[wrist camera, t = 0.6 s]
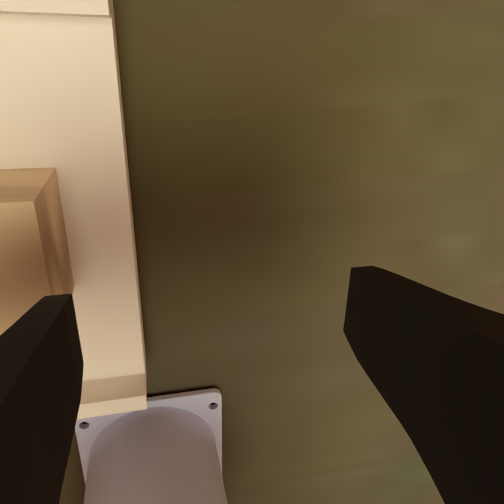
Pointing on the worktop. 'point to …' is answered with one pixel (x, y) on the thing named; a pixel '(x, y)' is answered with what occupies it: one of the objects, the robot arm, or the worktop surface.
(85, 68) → the trap box
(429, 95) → the worktop surface
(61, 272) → the maple block
